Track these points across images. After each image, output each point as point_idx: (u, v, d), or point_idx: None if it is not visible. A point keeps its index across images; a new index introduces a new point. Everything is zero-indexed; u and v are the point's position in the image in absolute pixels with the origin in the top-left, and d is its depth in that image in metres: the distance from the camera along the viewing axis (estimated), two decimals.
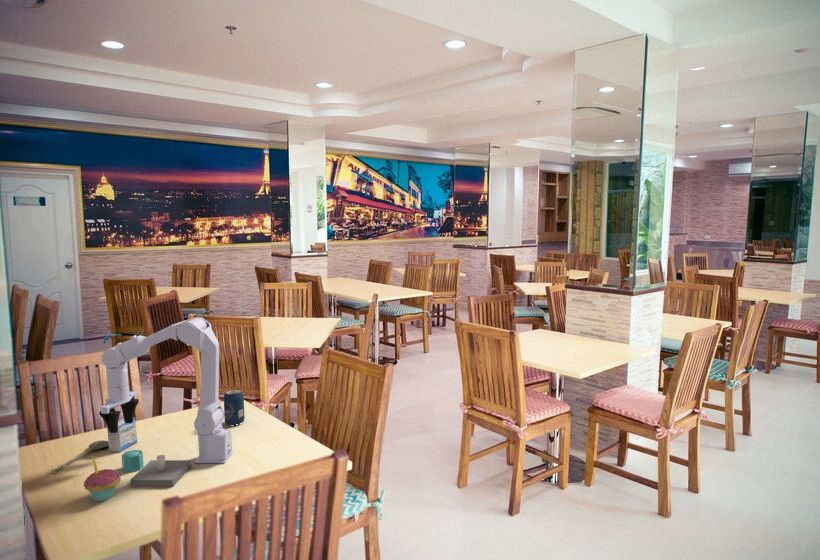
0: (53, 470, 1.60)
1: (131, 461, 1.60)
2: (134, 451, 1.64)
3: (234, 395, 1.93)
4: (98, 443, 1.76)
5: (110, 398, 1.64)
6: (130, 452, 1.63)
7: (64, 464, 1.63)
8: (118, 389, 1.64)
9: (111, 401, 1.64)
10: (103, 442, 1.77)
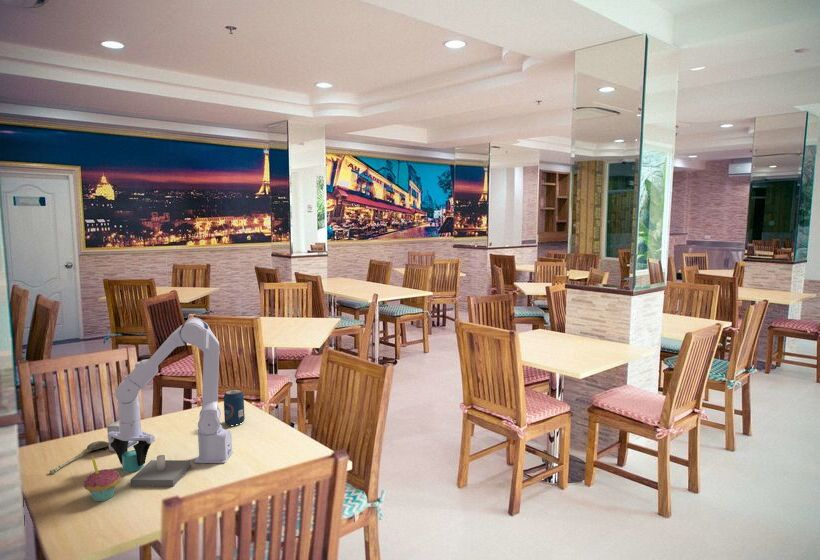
0: (51, 471, 1.59)
1: (131, 461, 1.60)
2: (134, 451, 1.64)
3: (234, 395, 1.93)
4: (96, 444, 1.75)
5: None
6: (130, 452, 1.63)
7: (62, 465, 1.63)
8: (119, 423, 1.60)
9: None
10: (101, 443, 1.76)
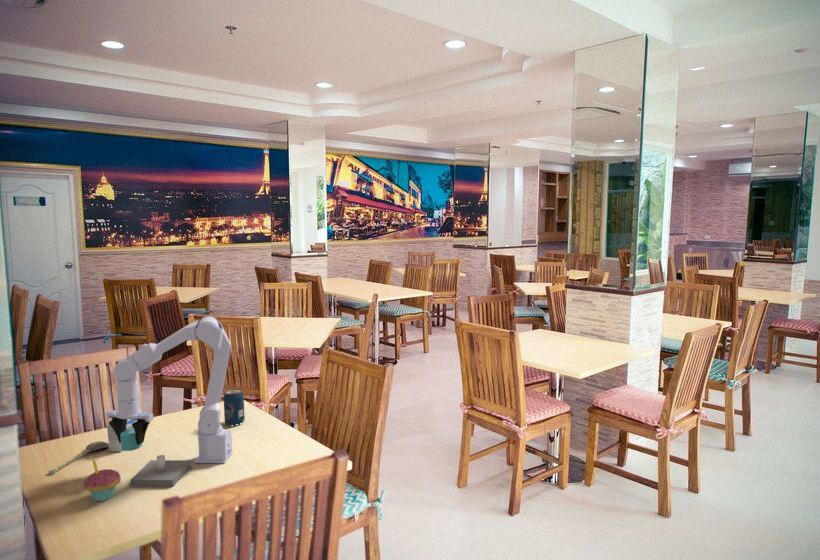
0: (50, 471, 1.59)
1: (129, 440, 1.59)
2: (133, 430, 1.63)
3: (234, 395, 1.93)
4: (95, 444, 1.75)
5: None
6: (129, 431, 1.62)
7: (61, 465, 1.62)
8: None
9: None
10: (101, 443, 1.76)
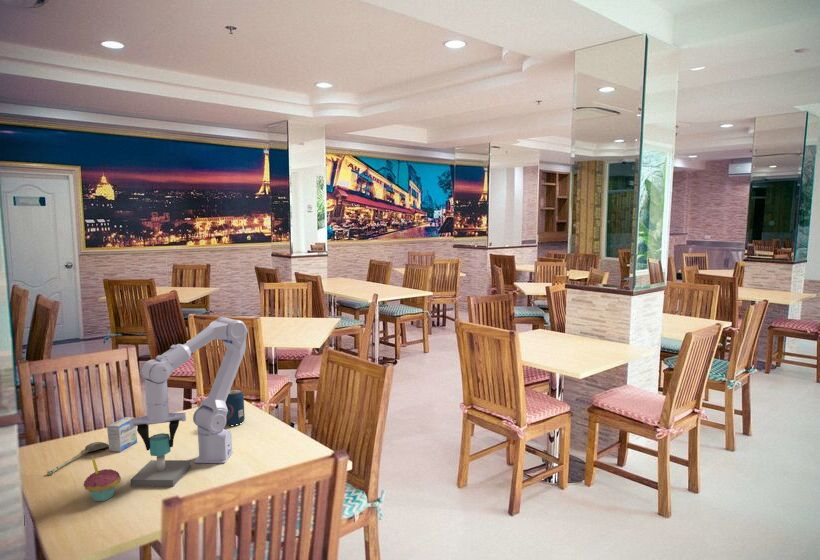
0: (49, 472, 1.59)
1: (164, 444, 1.55)
2: (158, 435, 1.58)
3: (234, 395, 1.93)
4: (94, 445, 1.74)
5: None
6: (155, 436, 1.57)
7: (60, 466, 1.62)
8: (147, 406, 1.53)
9: None
10: (99, 444, 1.75)
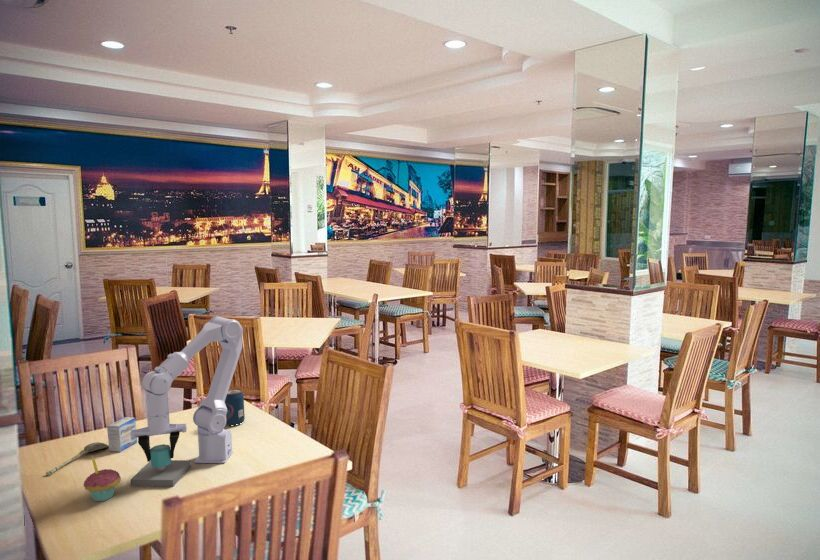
0: (47, 473, 1.58)
1: (165, 455, 1.55)
2: (158, 446, 1.58)
3: (234, 395, 1.93)
4: (93, 445, 1.74)
5: None
6: (156, 448, 1.57)
7: (59, 466, 1.62)
8: (148, 418, 1.53)
9: None
10: (98, 444, 1.75)
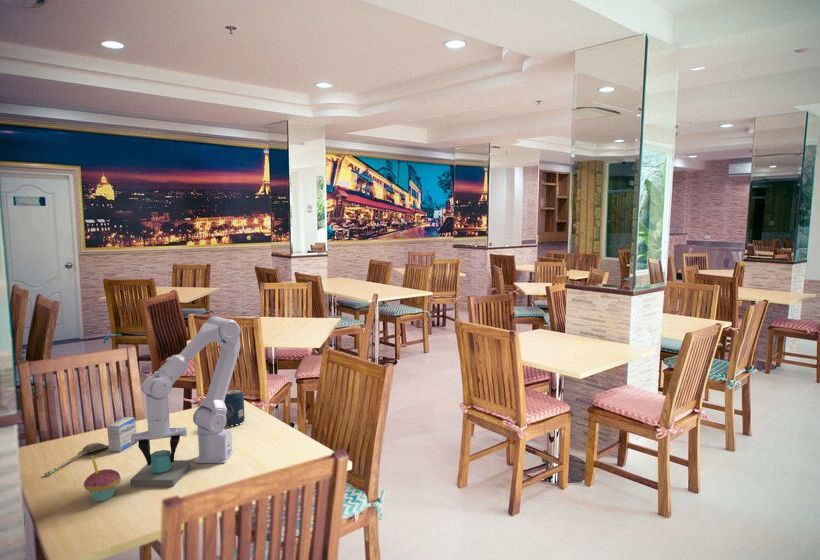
0: (46, 473, 1.58)
1: (165, 460, 1.55)
2: (159, 452, 1.58)
3: (234, 395, 1.93)
4: (92, 446, 1.74)
5: None
6: (156, 453, 1.57)
7: (57, 467, 1.61)
8: (148, 422, 1.54)
9: None
10: (97, 445, 1.75)
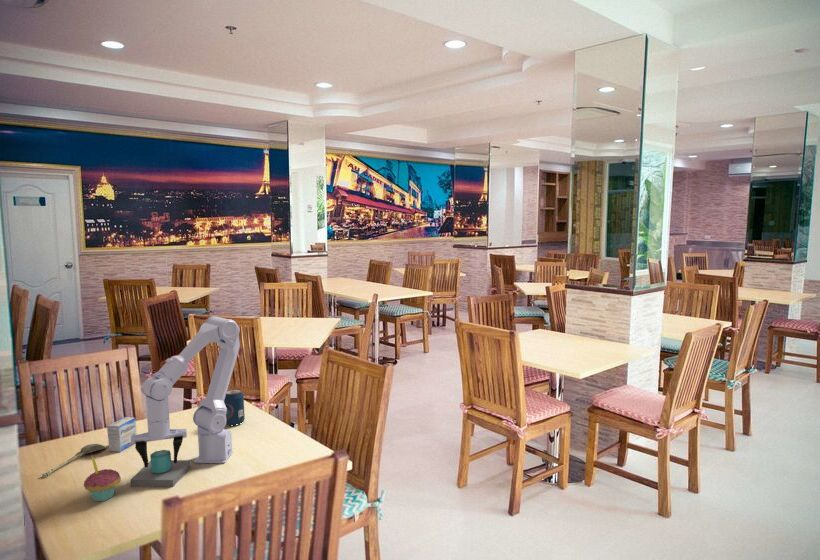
0: (43, 474, 1.57)
1: (165, 461, 1.55)
2: (159, 452, 1.58)
3: (234, 395, 1.93)
4: (90, 447, 1.73)
5: None
6: (156, 453, 1.57)
7: (55, 468, 1.61)
8: (148, 423, 1.54)
9: None
10: (95, 446, 1.74)
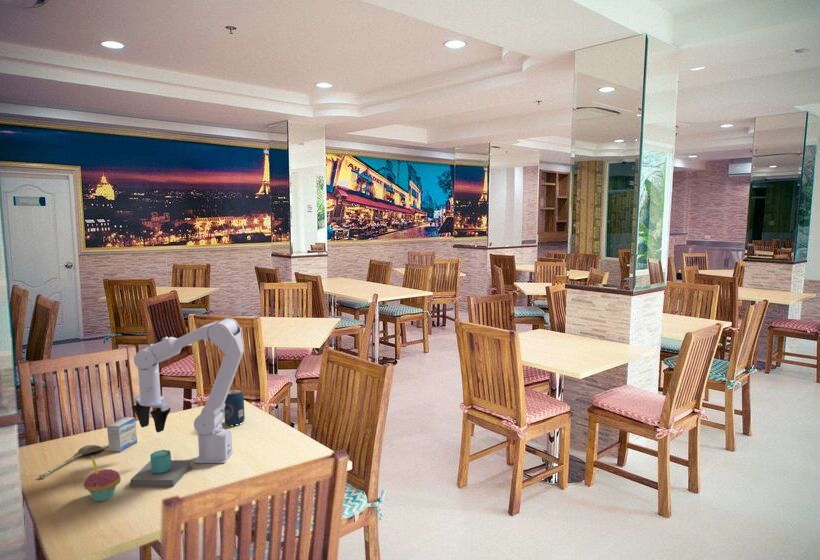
0: (40, 476, 1.57)
1: (165, 461, 1.55)
2: (159, 452, 1.58)
3: (234, 395, 1.93)
4: (88, 448, 1.72)
5: None
6: (156, 453, 1.57)
7: (52, 469, 1.60)
8: None
9: None
10: (93, 447, 1.73)
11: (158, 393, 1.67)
